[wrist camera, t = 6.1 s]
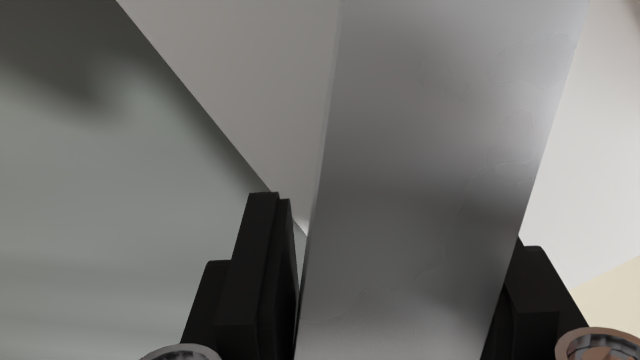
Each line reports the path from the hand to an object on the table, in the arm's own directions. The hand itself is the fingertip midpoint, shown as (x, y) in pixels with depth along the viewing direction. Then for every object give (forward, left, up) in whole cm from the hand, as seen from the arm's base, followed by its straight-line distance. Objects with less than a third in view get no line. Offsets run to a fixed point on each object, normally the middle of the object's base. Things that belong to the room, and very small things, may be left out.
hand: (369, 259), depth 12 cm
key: (-3, -4, -1) cm, 5 cm away
